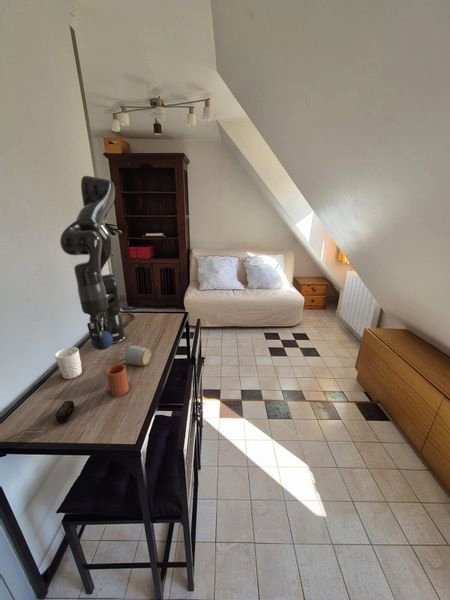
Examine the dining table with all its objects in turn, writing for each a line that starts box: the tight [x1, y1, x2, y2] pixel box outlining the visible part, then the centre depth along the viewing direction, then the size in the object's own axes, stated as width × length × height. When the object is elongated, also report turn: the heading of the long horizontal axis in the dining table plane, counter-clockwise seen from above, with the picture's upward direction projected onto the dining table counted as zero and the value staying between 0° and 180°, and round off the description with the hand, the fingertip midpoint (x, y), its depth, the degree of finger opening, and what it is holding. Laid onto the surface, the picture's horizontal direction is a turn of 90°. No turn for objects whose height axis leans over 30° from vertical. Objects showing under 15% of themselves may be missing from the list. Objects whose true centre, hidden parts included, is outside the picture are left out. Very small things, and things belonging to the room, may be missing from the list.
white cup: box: [54, 346, 83, 380], centre depth 98 cm, size 8×8×10 cm
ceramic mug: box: [124, 345, 152, 367], centre depth 106 cm, size 11×8×8 cm
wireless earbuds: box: [54, 400, 76, 424], centre depth 79 cm, size 5×7×3 cm, turn 6°
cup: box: [105, 363, 130, 397], centre depth 89 cm, size 6×6×9 cm
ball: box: [90, 331, 113, 351], centre depth 83 cm, size 6×6×6 cm
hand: (102, 342), depth 84 cm, fingers closed on ball, 6 cm apart
